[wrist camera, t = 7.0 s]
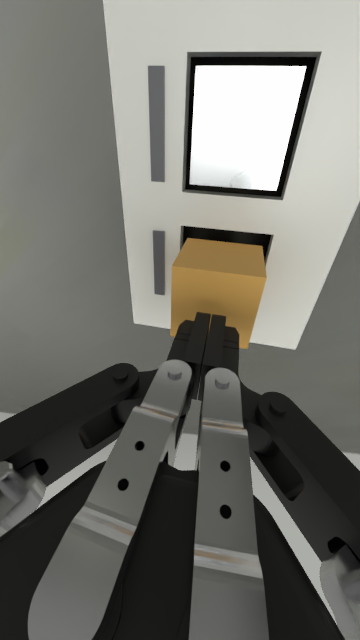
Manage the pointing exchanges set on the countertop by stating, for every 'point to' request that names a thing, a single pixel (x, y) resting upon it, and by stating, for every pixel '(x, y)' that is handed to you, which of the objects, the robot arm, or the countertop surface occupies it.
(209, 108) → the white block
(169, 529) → the robot arm
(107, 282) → the countertop surface
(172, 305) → the tan cardboard-coloured cube
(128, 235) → the panel
